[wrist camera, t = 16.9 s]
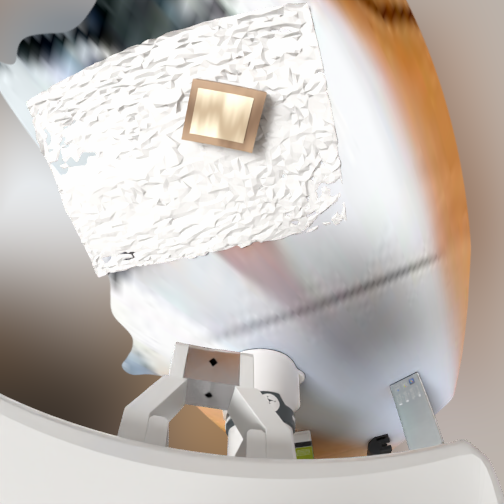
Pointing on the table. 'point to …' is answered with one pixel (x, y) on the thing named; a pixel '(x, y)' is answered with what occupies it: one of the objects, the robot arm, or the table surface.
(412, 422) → the hard drive box
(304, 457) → the tea box
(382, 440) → the end cap
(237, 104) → the brown rectangular block
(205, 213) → the carpet tile
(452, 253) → the table surface
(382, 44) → the table surface
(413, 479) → the robot arm
